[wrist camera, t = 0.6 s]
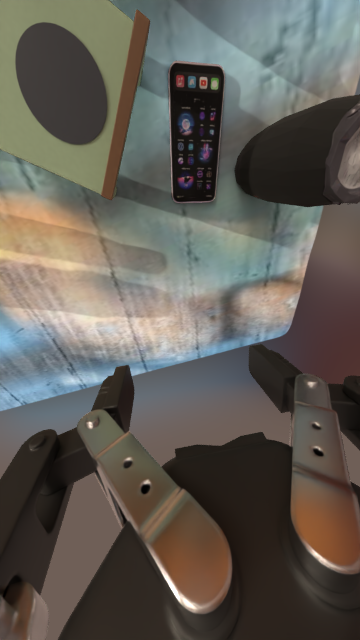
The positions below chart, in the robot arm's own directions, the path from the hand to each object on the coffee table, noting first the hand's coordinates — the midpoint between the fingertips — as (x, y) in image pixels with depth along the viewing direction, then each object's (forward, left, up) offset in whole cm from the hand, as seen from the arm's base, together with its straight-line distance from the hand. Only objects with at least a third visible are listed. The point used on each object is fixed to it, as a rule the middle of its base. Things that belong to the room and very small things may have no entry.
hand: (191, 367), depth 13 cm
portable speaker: (+13, +19, -30) cm, 37 cm away
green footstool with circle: (-13, +13, -29) cm, 35 cm away
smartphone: (+2, +17, -29) cm, 34 cm away
